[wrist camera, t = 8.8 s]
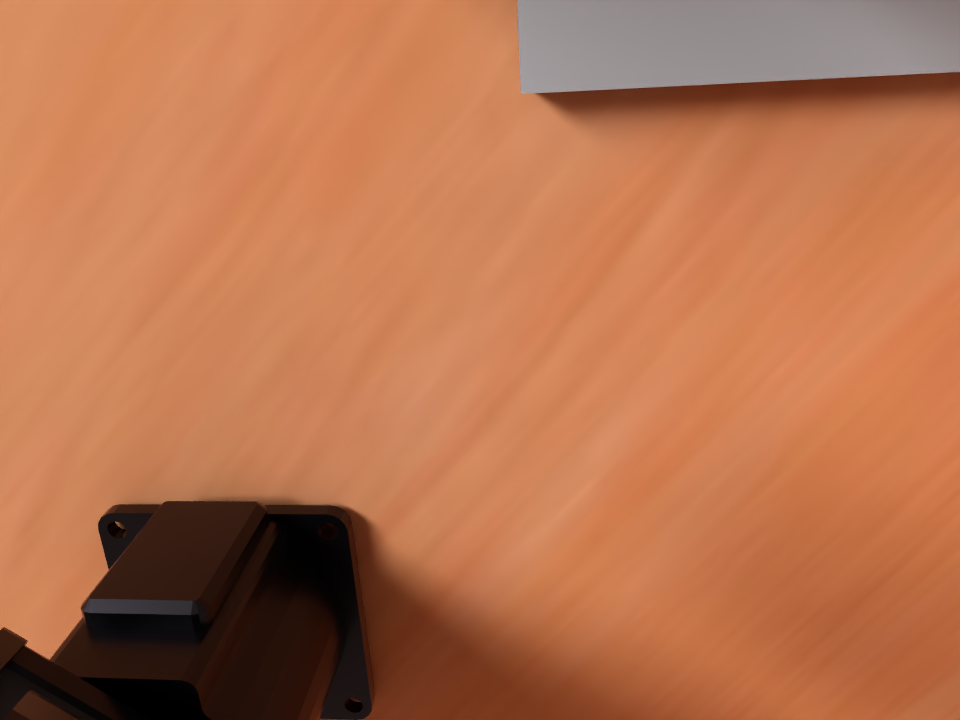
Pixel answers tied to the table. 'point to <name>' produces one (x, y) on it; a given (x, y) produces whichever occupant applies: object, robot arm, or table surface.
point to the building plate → (729, 41)
